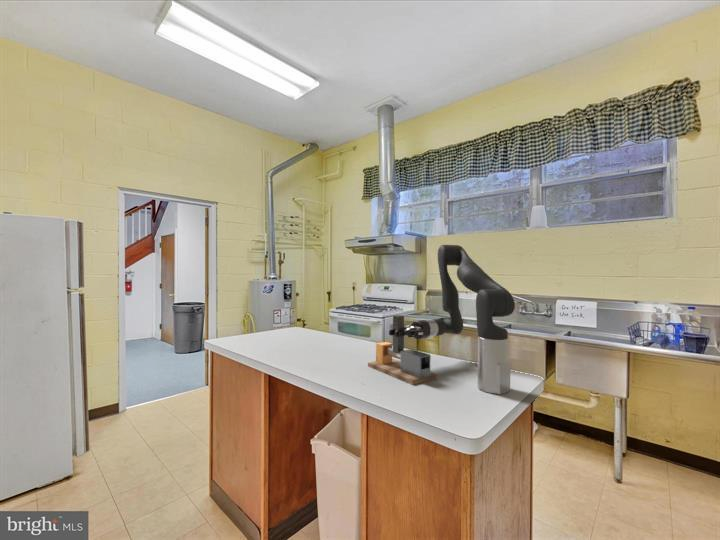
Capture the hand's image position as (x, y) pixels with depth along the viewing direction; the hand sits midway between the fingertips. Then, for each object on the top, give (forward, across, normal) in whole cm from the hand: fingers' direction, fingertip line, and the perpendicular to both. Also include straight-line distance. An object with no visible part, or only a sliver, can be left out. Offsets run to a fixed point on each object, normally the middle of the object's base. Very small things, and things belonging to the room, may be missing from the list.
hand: (392, 333), depth 124 cm
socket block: (-3, -9, +14) cm, 16 cm away
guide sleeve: (-3, +9, +14) cm, 17 cm away
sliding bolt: (-3, +3, +10) cm, 11 cm away
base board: (-3, +1, +15) cm, 15 cm away
